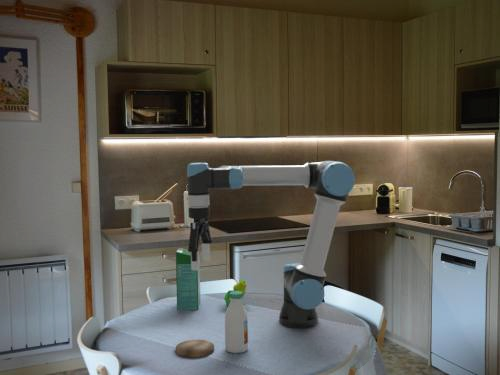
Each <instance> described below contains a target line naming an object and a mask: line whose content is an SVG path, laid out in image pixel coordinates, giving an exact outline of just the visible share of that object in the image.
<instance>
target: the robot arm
mask: <svg viewBox="0 0 500 375" xmlns="http://www.w3.org/2000/svg"><path fill="white" fill-rule="evenodd" d="M186 168H187V169H186V171H187V172H186V175H187V176H186V177H187V180H186V182H187V197H186V200H187V201H188V203H187V204H188V206H189V207H188V210H187V211H188V218H189V219H193V222H190V231H189V232H190V233H189V239H188V240H189V242H188V248H187V250H188V252H191V270H199V253H200V251H199V247H200V241H202V243H201V257H202V258H201V261H202V262H211V254H210V253H211V250H210V247H211V246H210V244H212V243H213V241H212V236H211V231H210V224H209V218H210V216H211V211H210V210H211V208H210V205H211V202H210V200H211V199H210V190H235V189H241V188H242V187H244V186H245V187H246V186H304V187H305V188H306V189H314V193H313V194H314V197H315V198H316V203H315V205H314V206H315V207H314V210H313V214H312V216H311V217H312V218H311V222H310V225H309V230H308V233H307V237H306V240H305V244H304V249H303V253H302V256H301V260H300V262H297V263H296V262H295V263H287V264H285V265H283V271H282V273H283V302H282V306H281V309H280V313H279V318H278V321H279V323H280V324H281V325H283V326H284V327H288V328H295V329H297V328H299V329H300V328H301V329H303V328H310V327H314V326H316V325H317V324H318V323H319V316H318V313H317V309H316V308H317V307H318V306H320V305H321V304H322V303H323V300H324V299H325V287H324V285H325V281H326V277H327V274H326V272H325V269H324V268H325V266H326V261H327V257H328V254H329V249H330V246H331V243H332V239H333V235H334V231H335V227H336V223H337V219H338V215H339V212H340V208H341V206H343V205H344V204H345V203H347V199H348V195H349V193H350V192H351V191H352V190H353V188H354V186H355V182H356V176H355V173H354V171H353V169H352V168H351V167H350V166H349V165H348V164H346V163H344V162H342V161H338V160H336V161H334V160H323V161H316V162H306V163H304V164H303V165H224V164H223V165H219V166H218V167H215V168H213V167H210V166H209V164H208V163H207V162H191V163H188V165H187V167H186Z"/></svg>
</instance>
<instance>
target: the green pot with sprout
mask: <svg viewBox="0 0 500 375" xmlns="http://www.w3.org/2000/svg"><path fill="white" fill-rule="evenodd" d="M246 288H247V283H246V280H244V279H240V280H239V282H237V283H236V284H234V285H233V286H232V289H233V290H228V291H227V292H226V294H225V295H224V297H223V299H224V301H225V304H226V308H227V309H228V306H229V303H230V299H229V293H230V292H232V291H241V292H242V293H243V299H242V303H243V301H244V298H245V295H246V290H247V289H246Z"/></svg>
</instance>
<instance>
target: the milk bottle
mask: <svg viewBox="0 0 500 375" xmlns="http://www.w3.org/2000/svg"><path fill="white" fill-rule="evenodd" d="M231 291H232V290H231ZM229 299H230V303H229V306H228V308H227V309H226V311H225V317H224V337H225V338H224V340H225V342H224V343H225V344H224V345H225V350H226V352H228V353H230V354H242V353H245V352H247V350H248V347H249V341H248V340H249V338H248V337H249V335H248V334H249V333H248V332H249V331H248V330H249V327H248V321H249V320H248V314H247V310H246V308H245V306H244V303H243V302H242V299H243V300H244V298H243V293H242V292H241V291H232V292H230V293H229Z"/></svg>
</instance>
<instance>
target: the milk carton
mask: <svg viewBox="0 0 500 375" xmlns="http://www.w3.org/2000/svg"><path fill="white" fill-rule="evenodd" d="M200 259H201V256H200V252H199V270H191V252H188V248H187V249H185V248H182V247H178V248H177V250H176V251H175V270H176V271H175V276H176V277H175V279H176V280H175V281H176V310H177V311H178V310H179V311H181V310H182V311H185V310H187V311H188V310H189V311H190V310H191V311H193V310H194V311H196V310H197V311H198V310H199V309H200V306H201V264H200V262H201V261H200Z"/></svg>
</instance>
